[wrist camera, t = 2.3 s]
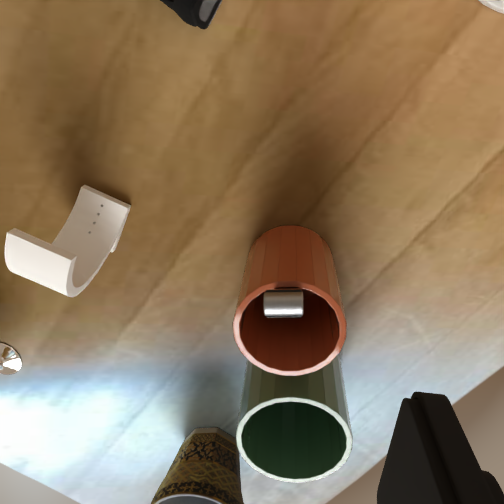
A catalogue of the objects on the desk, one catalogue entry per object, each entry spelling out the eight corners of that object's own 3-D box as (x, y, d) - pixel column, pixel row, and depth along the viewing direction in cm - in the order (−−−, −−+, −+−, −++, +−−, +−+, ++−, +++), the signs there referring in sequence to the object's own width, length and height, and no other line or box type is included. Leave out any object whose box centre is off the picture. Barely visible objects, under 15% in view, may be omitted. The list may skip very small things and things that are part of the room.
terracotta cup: (333, 223, 39) (347, 279, 29) (333, 301, 43) (345, 376, 33) (244, 226, 40) (228, 282, 30) (250, 302, 44) (237, 375, 34)
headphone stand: (131, 205, 40) (72, 260, 30) (112, 257, 43) (51, 326, 32) (84, 184, 40) (7, 232, 29) (68, 238, 42) (-9, 301, 31)
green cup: (340, 319, 43) (353, 397, 33) (338, 394, 47) (350, 484, 37) (244, 320, 45) (231, 396, 35) (251, 393, 48) (240, 481, 38)
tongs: (298, 196, 38) (303, 299, 21) (301, 298, 42) (306, 452, 25) (276, 197, 38) (263, 299, 22) (280, 299, 42) (272, 451, 26)
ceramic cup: (156, 448, 53) (127, 529, 44) (200, 401, 49) (179, 478, 40) (241, 498, 56) (230, 584, 46) (289, 456, 52) (289, 541, 43)
